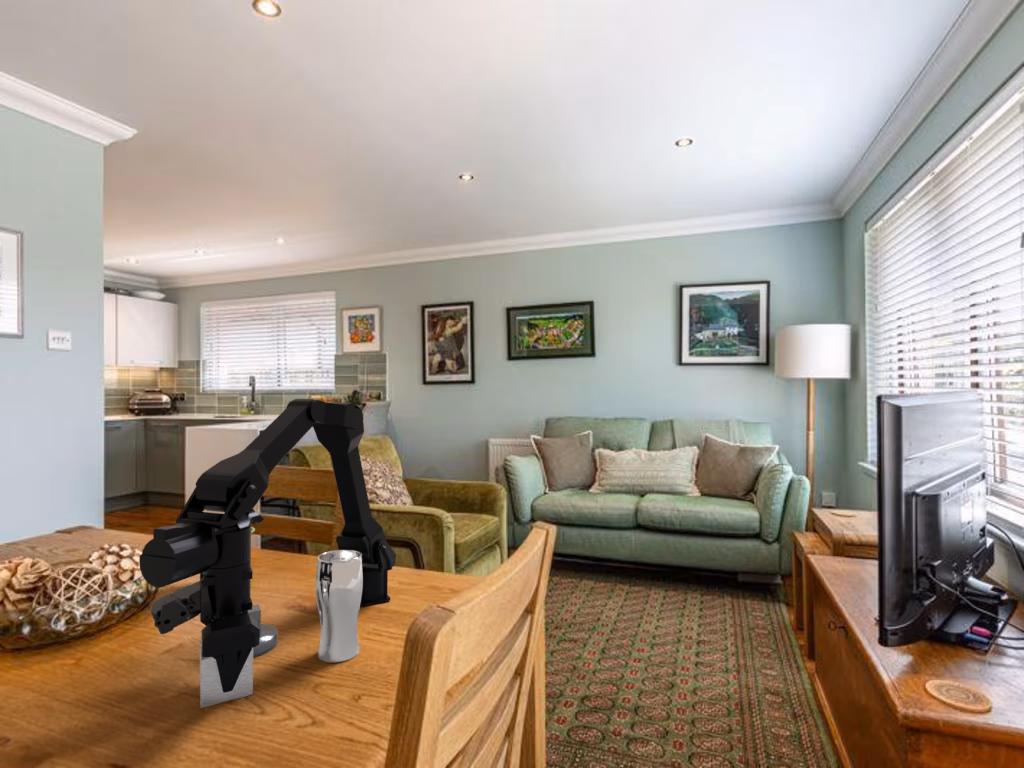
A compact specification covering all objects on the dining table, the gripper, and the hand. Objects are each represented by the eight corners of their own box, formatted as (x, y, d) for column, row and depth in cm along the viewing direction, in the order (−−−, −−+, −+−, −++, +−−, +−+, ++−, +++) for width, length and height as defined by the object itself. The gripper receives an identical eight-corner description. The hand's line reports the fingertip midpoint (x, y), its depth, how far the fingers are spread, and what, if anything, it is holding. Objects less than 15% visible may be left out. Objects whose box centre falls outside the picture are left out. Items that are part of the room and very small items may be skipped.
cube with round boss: (248, 674, 77) (248, 621, 77) (252, 694, 71) (253, 637, 72) (199, 686, 73) (200, 630, 74) (200, 708, 68) (201, 648, 68)
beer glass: (371, 646, 85) (372, 551, 85) (343, 667, 78) (344, 564, 79) (334, 640, 87) (335, 547, 88) (304, 660, 81) (305, 559, 81)
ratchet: (280, 651, 83) (281, 612, 84) (222, 664, 79) (222, 623, 79) (265, 610, 99) (265, 577, 99) (216, 619, 95) (216, 585, 95)
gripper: (159, 553, 77) (157, 664, 76) (152, 596, 61) (150, 736, 60) (246, 542, 82) (244, 645, 82) (260, 578, 66) (259, 706, 66)
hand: (225, 678), depth 72 cm, fingers open, 7 cm apart
